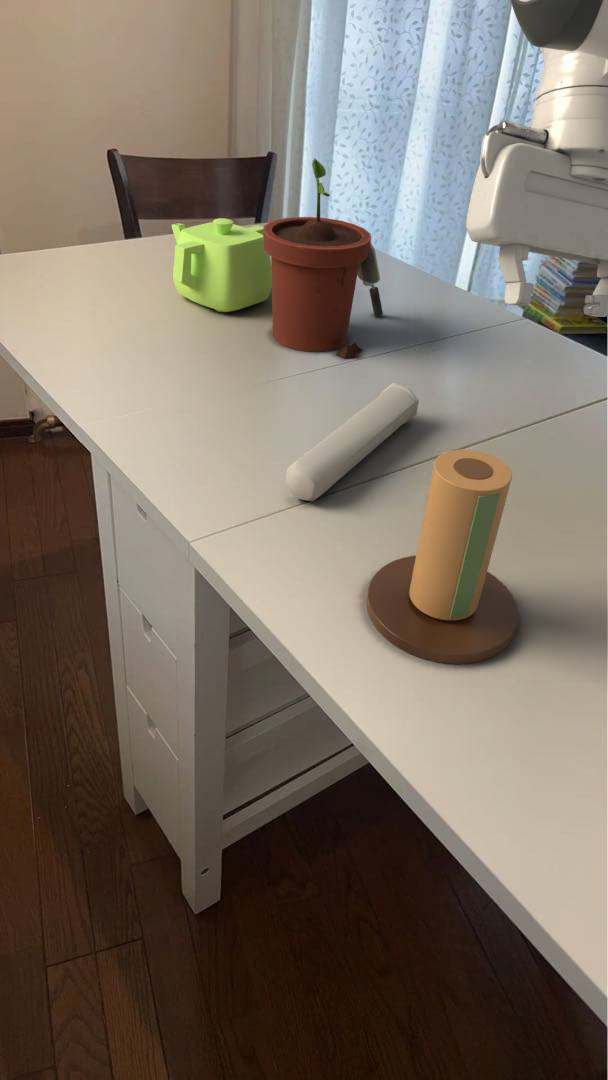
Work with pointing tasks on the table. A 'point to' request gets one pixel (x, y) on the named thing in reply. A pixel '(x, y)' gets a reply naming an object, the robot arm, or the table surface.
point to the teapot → (221, 265)
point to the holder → (436, 636)
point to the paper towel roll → (458, 533)
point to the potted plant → (318, 278)
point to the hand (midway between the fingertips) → (557, 310)
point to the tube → (350, 442)
